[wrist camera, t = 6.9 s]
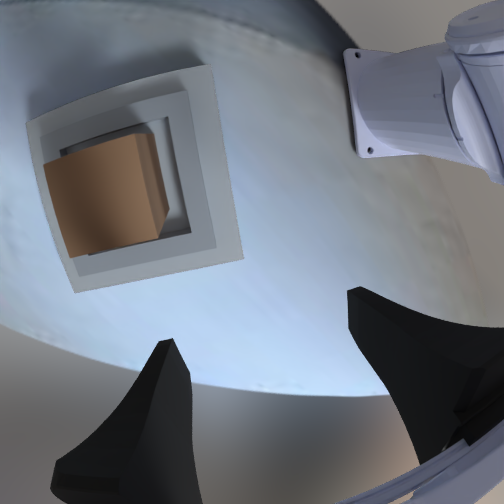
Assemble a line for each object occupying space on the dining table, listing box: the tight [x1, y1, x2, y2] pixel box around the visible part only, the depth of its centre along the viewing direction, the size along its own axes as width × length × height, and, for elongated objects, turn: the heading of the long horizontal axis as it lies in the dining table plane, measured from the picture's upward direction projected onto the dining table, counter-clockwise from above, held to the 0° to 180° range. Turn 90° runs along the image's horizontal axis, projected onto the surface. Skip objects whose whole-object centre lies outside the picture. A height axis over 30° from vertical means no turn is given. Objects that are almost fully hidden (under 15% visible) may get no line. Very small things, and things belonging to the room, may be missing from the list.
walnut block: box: [43, 134, 170, 258], centre depth 13 cm, size 4×4×5 cm
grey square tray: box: [26, 64, 244, 293], centre depth 16 cm, size 12×12×3 cm
